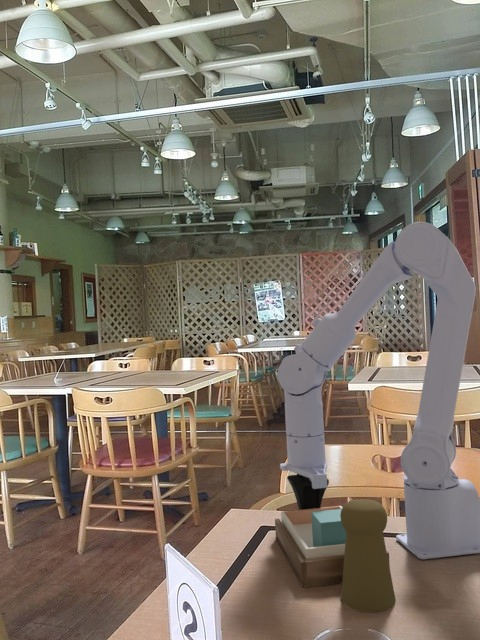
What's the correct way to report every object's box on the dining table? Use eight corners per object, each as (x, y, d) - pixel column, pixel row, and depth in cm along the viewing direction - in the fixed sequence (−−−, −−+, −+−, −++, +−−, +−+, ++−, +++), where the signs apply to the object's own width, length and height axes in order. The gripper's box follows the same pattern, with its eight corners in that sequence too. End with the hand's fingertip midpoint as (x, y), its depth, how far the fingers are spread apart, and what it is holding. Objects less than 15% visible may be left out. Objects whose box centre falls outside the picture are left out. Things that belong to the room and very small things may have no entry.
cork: (397, 613, 61) (391, 510, 62) (340, 610, 63) (334, 510, 63) (394, 587, 67) (388, 494, 67) (341, 585, 68) (336, 493, 69)
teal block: (357, 555, 72) (355, 519, 72) (322, 559, 71) (320, 523, 71) (345, 542, 76) (343, 508, 77) (313, 545, 76) (311, 511, 76)
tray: (342, 524, 86) (341, 505, 86) (379, 564, 71) (378, 541, 71) (281, 530, 84) (280, 511, 84) (307, 572, 70) (306, 549, 70)
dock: (347, 531, 86) (346, 511, 86) (390, 577, 70) (388, 552, 70) (275, 539, 85) (274, 518, 85) (302, 587, 68) (301, 562, 69)
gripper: (270, 427, 93) (274, 511, 93) (289, 445, 79) (295, 544, 79) (312, 424, 94) (316, 507, 94) (339, 441, 80) (344, 538, 80)
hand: (310, 523), depth 86 cm, fingers closed
